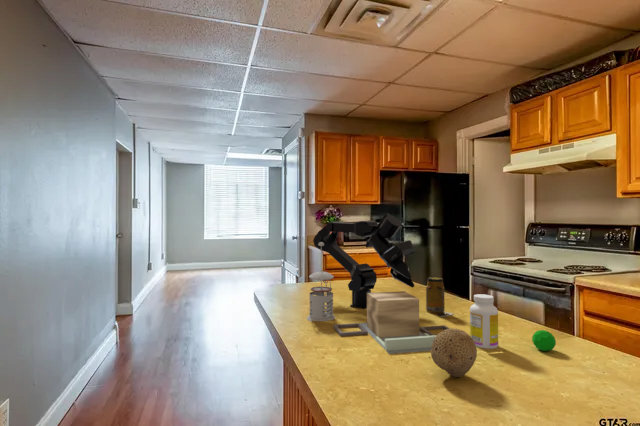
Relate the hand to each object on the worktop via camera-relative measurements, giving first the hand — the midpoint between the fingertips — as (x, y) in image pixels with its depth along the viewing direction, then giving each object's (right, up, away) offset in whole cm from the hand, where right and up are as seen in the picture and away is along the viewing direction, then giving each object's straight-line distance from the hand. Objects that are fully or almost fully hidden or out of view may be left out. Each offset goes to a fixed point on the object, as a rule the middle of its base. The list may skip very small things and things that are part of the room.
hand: (411, 282), depth 117 cm
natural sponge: (-2, -12, -41) cm, 43 cm away
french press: (-29, -12, +3) cm, 32 cm away
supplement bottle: (+13, -12, -23) cm, 29 cm away
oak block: (-9, -12, -12) cm, 19 cm away
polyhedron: (+26, -12, -26) cm, 39 cm away
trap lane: (-8, -12, -16) cm, 21 cm away
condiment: (+11, -12, +7) cm, 18 cm away
